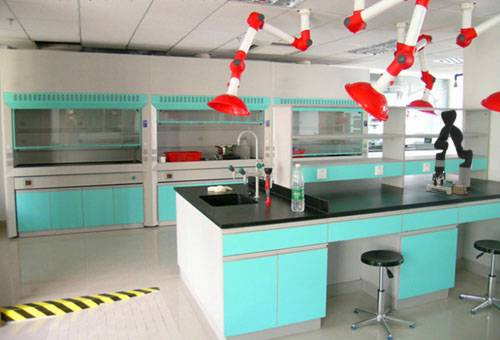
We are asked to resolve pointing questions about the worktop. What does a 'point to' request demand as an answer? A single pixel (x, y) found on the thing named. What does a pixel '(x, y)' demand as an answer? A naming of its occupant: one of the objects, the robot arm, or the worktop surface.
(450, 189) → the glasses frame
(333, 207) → the worktop surface
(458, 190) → the display stand
